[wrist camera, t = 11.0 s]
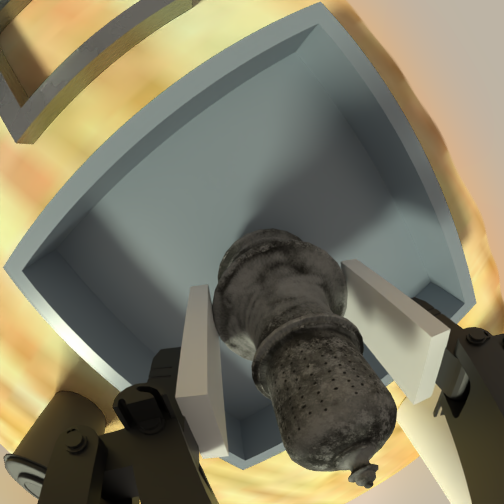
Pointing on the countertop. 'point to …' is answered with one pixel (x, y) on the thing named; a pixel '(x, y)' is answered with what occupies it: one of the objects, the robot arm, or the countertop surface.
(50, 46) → the countertop surface
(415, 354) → the robot arm
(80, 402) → the coffee cup
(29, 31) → the countertop surface
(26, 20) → the countertop surface
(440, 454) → the white plastic bottle
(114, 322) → the bin
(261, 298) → the dark grey tall piece
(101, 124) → the countertop surface
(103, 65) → the collar
